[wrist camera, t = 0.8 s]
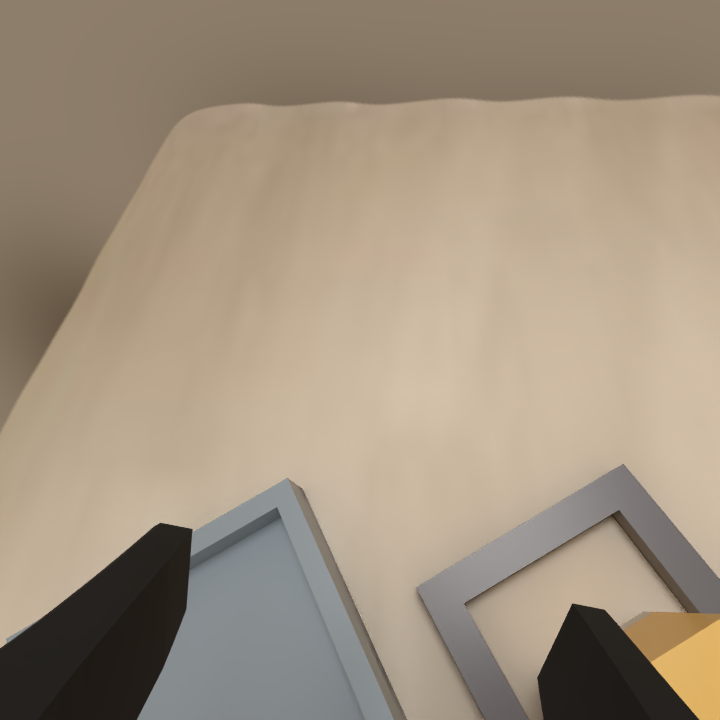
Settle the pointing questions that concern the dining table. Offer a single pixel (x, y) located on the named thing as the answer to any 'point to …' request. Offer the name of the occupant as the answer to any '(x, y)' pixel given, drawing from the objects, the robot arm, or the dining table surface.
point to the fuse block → (683, 655)
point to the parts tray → (269, 626)
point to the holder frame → (540, 537)
